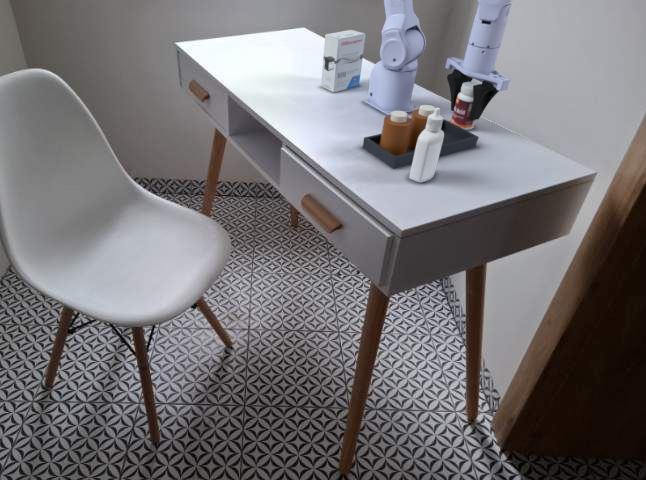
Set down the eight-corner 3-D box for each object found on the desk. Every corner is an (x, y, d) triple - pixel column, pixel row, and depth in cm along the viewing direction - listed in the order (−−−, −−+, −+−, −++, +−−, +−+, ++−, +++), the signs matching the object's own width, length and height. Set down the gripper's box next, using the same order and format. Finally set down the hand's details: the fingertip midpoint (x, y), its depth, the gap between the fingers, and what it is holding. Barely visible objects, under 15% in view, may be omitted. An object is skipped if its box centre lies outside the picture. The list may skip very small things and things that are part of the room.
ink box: (345, 80, 126) (351, 28, 119) (359, 86, 123) (366, 33, 116) (319, 86, 122) (324, 33, 114) (333, 93, 119) (339, 38, 112)
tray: (362, 147, 97) (363, 137, 96) (442, 129, 105) (444, 119, 104) (393, 168, 91) (395, 157, 90) (475, 147, 99) (478, 136, 98)
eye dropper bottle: (442, 180, 88) (460, 111, 81) (414, 184, 87) (430, 115, 79) (428, 168, 92) (445, 101, 84) (401, 172, 90) (415, 105, 82)
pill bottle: (445, 122, 108) (455, 82, 102) (464, 120, 109) (475, 79, 104) (459, 131, 104) (470, 90, 99) (478, 129, 106) (490, 88, 100)
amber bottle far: (373, 148, 96) (379, 110, 91) (394, 143, 98) (401, 106, 93) (390, 159, 92) (397, 121, 88) (411, 154, 94) (419, 116, 90)
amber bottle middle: (400, 142, 98) (407, 104, 94) (420, 137, 100) (428, 100, 96) (418, 152, 95) (426, 114, 90) (438, 147, 97) (447, 110, 92)
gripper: (530, 52, 93) (506, 124, 102) (471, 32, 103) (454, 99, 111) (502, 57, 90) (480, 130, 99) (444, 35, 100) (429, 104, 109)
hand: (464, 114), depth 105 cm, fingers closed on pill bottle, 5 cm apart
